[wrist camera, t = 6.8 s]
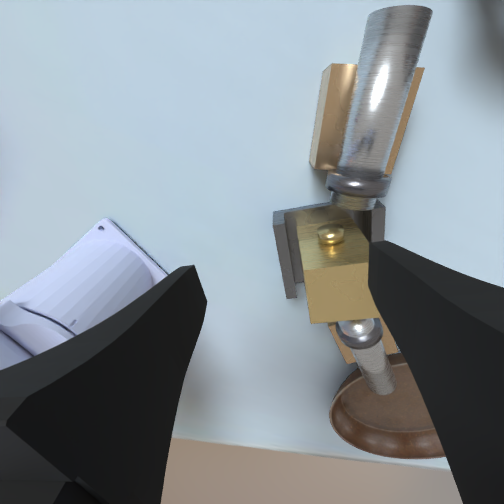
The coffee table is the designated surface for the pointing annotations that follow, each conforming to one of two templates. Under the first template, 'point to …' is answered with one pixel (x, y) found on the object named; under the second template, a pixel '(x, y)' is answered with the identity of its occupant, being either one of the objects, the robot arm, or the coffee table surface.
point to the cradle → (289, 219)
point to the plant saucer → (386, 417)
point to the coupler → (336, 271)
